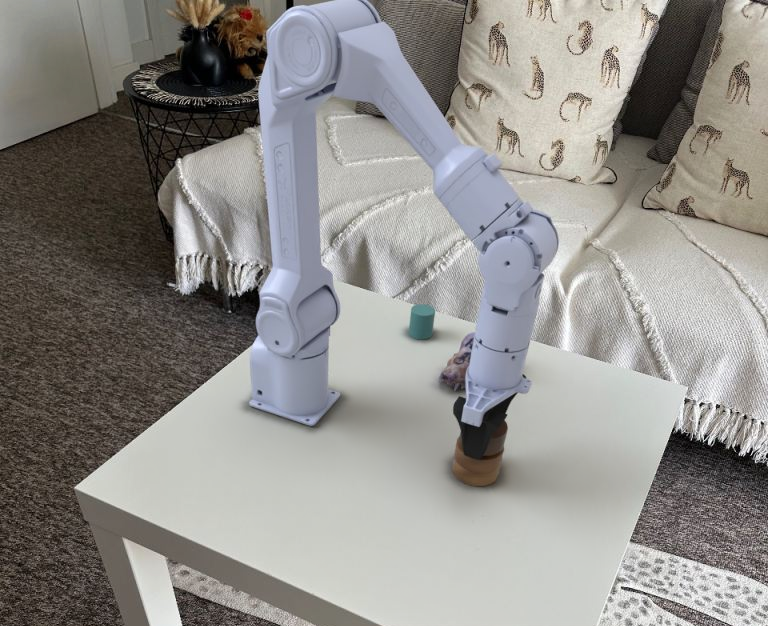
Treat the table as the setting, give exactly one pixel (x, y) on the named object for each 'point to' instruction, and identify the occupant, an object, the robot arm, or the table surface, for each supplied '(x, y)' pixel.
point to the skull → (459, 364)
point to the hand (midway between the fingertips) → (480, 442)
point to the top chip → (475, 465)
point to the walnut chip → (495, 440)
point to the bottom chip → (474, 476)
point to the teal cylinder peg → (421, 321)
